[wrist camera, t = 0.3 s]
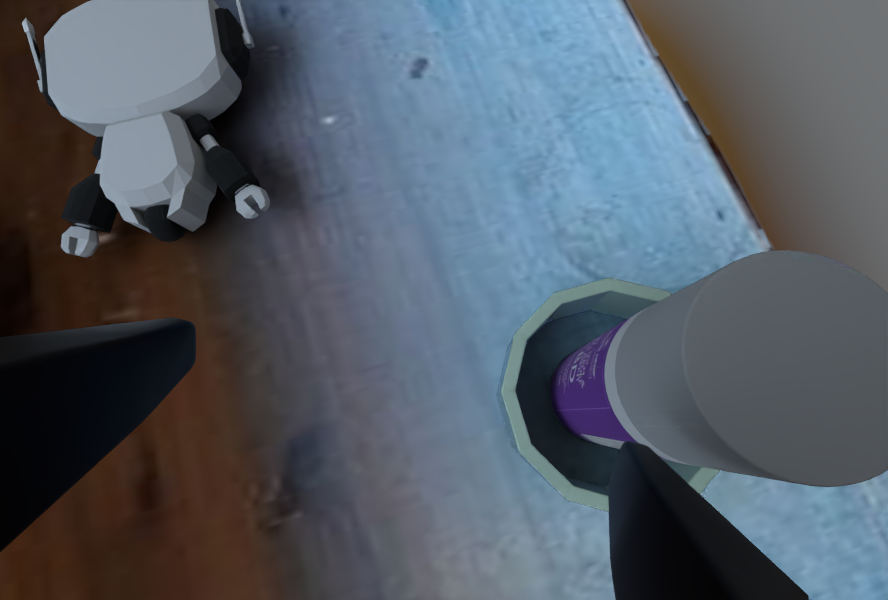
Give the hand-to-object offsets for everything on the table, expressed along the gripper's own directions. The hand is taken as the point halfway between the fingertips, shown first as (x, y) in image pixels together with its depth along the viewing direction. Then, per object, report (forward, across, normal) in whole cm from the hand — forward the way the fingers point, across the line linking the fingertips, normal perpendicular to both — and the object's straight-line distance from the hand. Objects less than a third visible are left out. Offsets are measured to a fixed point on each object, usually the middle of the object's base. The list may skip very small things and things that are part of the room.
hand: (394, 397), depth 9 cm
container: (+14, -7, +6) cm, 17 cm away
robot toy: (+19, +20, -1) cm, 27 cm away
